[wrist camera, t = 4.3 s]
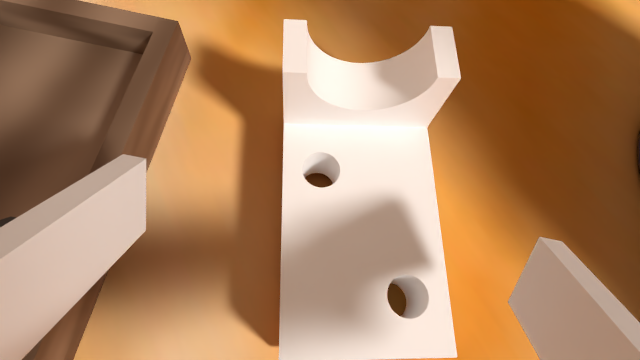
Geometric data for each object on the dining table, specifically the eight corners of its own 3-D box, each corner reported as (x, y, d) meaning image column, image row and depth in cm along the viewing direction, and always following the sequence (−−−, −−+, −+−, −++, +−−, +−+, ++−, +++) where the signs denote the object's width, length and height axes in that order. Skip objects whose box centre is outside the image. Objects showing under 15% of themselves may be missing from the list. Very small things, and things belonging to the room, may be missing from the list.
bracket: (285, 114, 23) (283, 19, 16) (402, 117, 23) (452, 26, 16) (280, 355, 18) (275, 373, 11) (427, 351, 19) (511, 367, 12)
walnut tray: (191, 58, 23) (177, 21, 20) (62, 387, 17) (16, 399, 14) (-8, 16, 23) (-49, -27, 20) (-216, 329, 17) (-317, 330, 14)
